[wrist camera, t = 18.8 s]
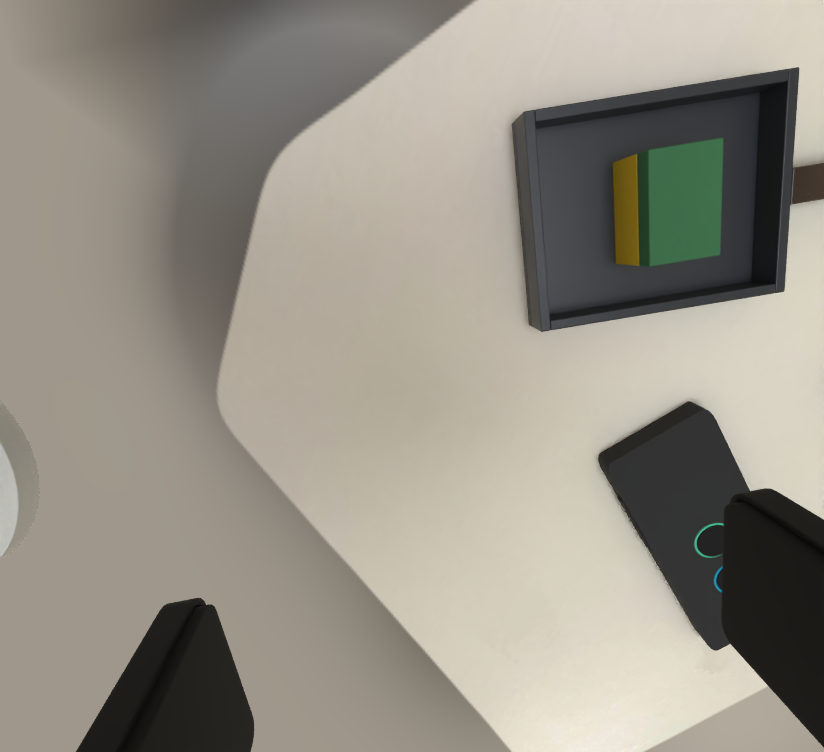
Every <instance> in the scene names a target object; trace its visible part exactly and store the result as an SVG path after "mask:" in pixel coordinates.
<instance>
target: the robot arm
mask: <svg viewBox="0 0 824 752" xmlns="http://www.w3.org/2000/svg"><path fill="white" fill-rule="evenodd" d="M721 624H722V628H723V631H724V633H725V636H726V637H727V639H728V641H729V642H730V643H731V645H732V646H733V647H734V648H735V649H736V651H737V652H738V653H739V654H740V655H741V656H742V657H743V658H744V659H745V661H746V662H747V663H748V664H749V665H750V666H751V667H752V668H753V669H754V670H755V672H756V673H757V674H758V675H759V676H760V677H761V678H762V679H763V680H764V682H765V683H766V684H767V685H768V686H769V687H770V688H771V689H772V690H773V692H774V693H775V694H776V695H777V696H778V697H779V698H780V699H781V700H782V702H783V703H784V704H785V705H786V706H787V707H788V708H789V709H790V710H791V712H792V713H793V714H794V715H795V716H796V717H797V718H798V719H799V720H800V722H801V723H802V724H803V725H804V726H805V727H806V728H807V729H808V730H809V732H810V733H811V734H812V735H813V736H814V737H815V738H816V739H817V740H818V742H819V743H821V745H822V746H823V747H824V520H823V519H822V518H820V517H818V516H817V515H815V514H813V513H812V512H810V511H808V510H807V509H805V508H803V507H802V506H800V505H798V504H797V503H795V502H793V501H792V500H790V499H788V498H787V497H785V496H783V495H782V494H780V493H778V492H777V491H775V490H772V489H760V490H755V491H750V492H744V493H739V494H736V495H734V496H733V497H732V498H731V500H730V504H728V505H726V507H725V509H724V527H723V567H722V607H721ZM253 737H254V720H253V716H252V712H251V710H250V707H249V704H248V701H247V698H246V695H245V692H244V689H243V687H242V684H241V680H240V678H239V675H238V672H237V669H236V666H235V663H234V660H233V657H232V654H231V651H230V649H229V646H228V643H227V640H226V637H225V634H224V631H223V628H222V625H221V622H220V620H219V617H218V614H217V611H216V609H215V607H214V606H213V605H206V604H205V602H204V601H203V600H202V599H201V598H195V599H190V600H184V601H180V602H174V603H169V604H166V605H164V606H163V608H162V609H161V610H160V611H159V613H158V615H157V616H156V618H155V620H154V621H153V623H152V625H151V627H150V628H149V630H148V631H147V633H146V635H145V637H144V638H143V640H142V642H141V643H140V645H139V647H138V648H137V650H136V652H135V653H134V655H133V657H132V658H131V660H130V662H129V664H128V665H127V667H126V669H125V670H124V672H123V674H122V675H121V677H120V679H119V680H118V682H117V684H116V685H115V687H114V689H113V690H112V692H111V694H110V696H109V697H108V699H107V700H106V702H105V704H104V706H103V707H102V709H101V711H100V712H99V714H98V716H97V717H96V719H95V721H94V723H93V724H92V726H91V728H90V729H89V731H88V732H87V734H86V736H85V738H84V739H83V741H82V743H81V744H80V746H79V748H78V749H77V751H76V752H250V751H251V747H252V743H253Z"/></svg>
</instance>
